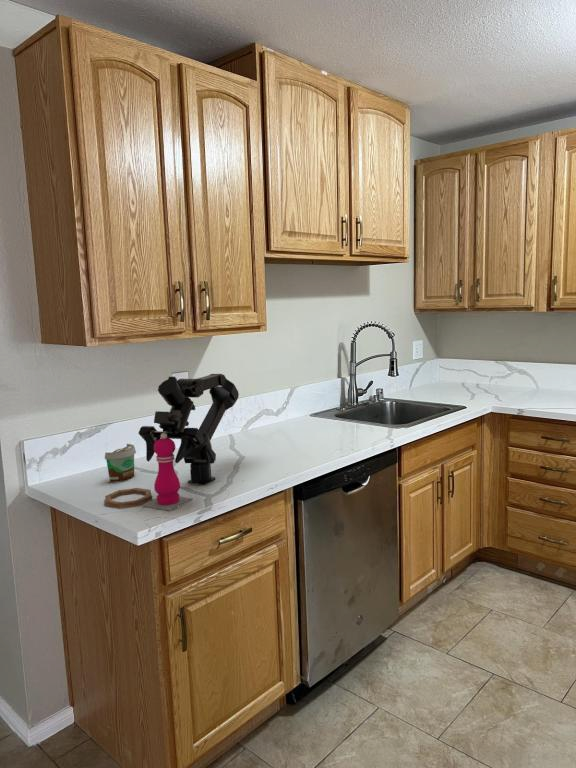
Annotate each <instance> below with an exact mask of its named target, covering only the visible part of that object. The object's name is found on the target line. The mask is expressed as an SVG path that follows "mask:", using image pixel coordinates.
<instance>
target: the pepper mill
mask: <svg viewBox="0 0 576 768" xmlns="http://www.w3.org/2000/svg"><path fill="white" fill-rule="evenodd" d="M154 452H155V453H154V454H155V455H156V456H155V458H156V462H157V464H158V471H157V476H156V478H155V479H154V486H153V487H154V491H155V493H156V494H157V496H156V498H157V503H158V504H161V505H171V504H175V503H177V502H178V501H179V496H180V494H179V491H180V489H181V482H180V479H179V477H178V475H177V472H176V471H175V468H174V461H175V454H174V453H175V452H176V444H175V441H174V439H171V438H167V434H166V433H162V434H161V438H160V439H159V440H157V441H156V442H155V444H154Z"/></svg>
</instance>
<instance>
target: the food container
mask: <svg viewBox="0 0 576 768" xmlns="http://www.w3.org/2000/svg"><path fill="white" fill-rule="evenodd" d="M136 453H137V450H136V447H135V445H134V444H131V443H126V446H125V447H122V448H117V449H115V450H114V451H112V452H105V453H104V460H106V465H107V473H108V479H109V482H110V483H117V482H125V480H126V481H129V480H132V479H133V478H134V477H135V455H136ZM131 478H132V479H131Z"/></svg>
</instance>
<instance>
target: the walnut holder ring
mask: <svg viewBox="0 0 576 768" xmlns="http://www.w3.org/2000/svg"><path fill="white" fill-rule="evenodd" d="M134 494H136V495H142V497H141V498H137V499H135V500H128V501H127V500H126V501H116V500H114V499H116V498H118V497H121V496H126V495H127V496H128V495H134ZM104 497H105V498H104V503H105V506H106V507H111V508H117V509H124V508H133V507H138V506H142V505H144V504H146V503H148V502H150V501H152V500H153V495H152V490H151V489H146V488H141V487H133V488H127V489H119V490H116V491H114V492H112V493H109V494H107V495H105V496H104Z"/></svg>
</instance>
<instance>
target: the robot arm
mask: <svg viewBox="0 0 576 768" xmlns="http://www.w3.org/2000/svg"><path fill="white" fill-rule="evenodd" d="M207 390H209V391H208V393H209V394H210V396H211V400H212V404H211V405H210V407H209V408H208V411H207V413H206V415H205V417H204V418H203V420H202V422H201V424H200V426H199V428H198V427H188V426H189V424H190V422H189V421H188V420H189V417H190V414H191V411H196V405H195V404H194V401H193V400H192V399H191V398H200V397H201V396H203V395H204V392H205V391H207ZM157 392H158V394H160V396H161V397H162V398H163V400H164V401H165V402H166V404H167V405H169V406H170V410H169V411H157V410H156V411H155V413H154V418H153V423H154V424H158V426H159V427H158V428H160V429H162V430H160V431H159V430H157V428H156V427H155V426H151V425H143V426H141V427H140V428H139V431H138V433H137V434H138V435H139V436H140V437H141V438H142V439H143V440H144V441H145V446H146V447H145V449H146V450H145V452H146V458H145V459H146V461H147V462H150V461H151V460H152V458H153V457H154V455H155V454H156V453H155V452H154V444H155V442H156V441H157V440H159V439H161V434H162V433H166V434H167V438H169V439H172V440H180V445H179V448H178V450H177V453H176V457H175V458H174V462H175V463H176V464H178V463H180V462H181V461H182V460H184V463H185V464H190V470H189V471H190V479H188V480H187V483H189V484H195V485H203V486H204V485H206V484H208V483H210V482H213V481H215V480H216V477H215V476H212V469H211V466H212V465H211V464H214V463H215V461H216V459H217V454H216V452H215V451H214V450H213V446H212V442H211V440H212V438H213V436H214V434H215V432H216V430H217V429H218V426H219V424H220V423H221V420H222V419H223V418H224V417H223V416H224V415H225V412H226V411H227V410H229V409H230V408H231V409H232V408H233V406H234V405H235V404H236V402H237V401H238V399H239V395H240V394H239V390H238V389H237V387H236V385H235V384H234V383H233V382H232V381H230V380H229V379H227V378H226V375H225V374H223V373H210V374H209V375H205V376H202V377H199V378H198V377H197V378H179V379H177V377H176V376H168V378H167V379H166V380H164V381H163V382H161V383H160V384H159V385H158V387H157Z"/></svg>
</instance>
